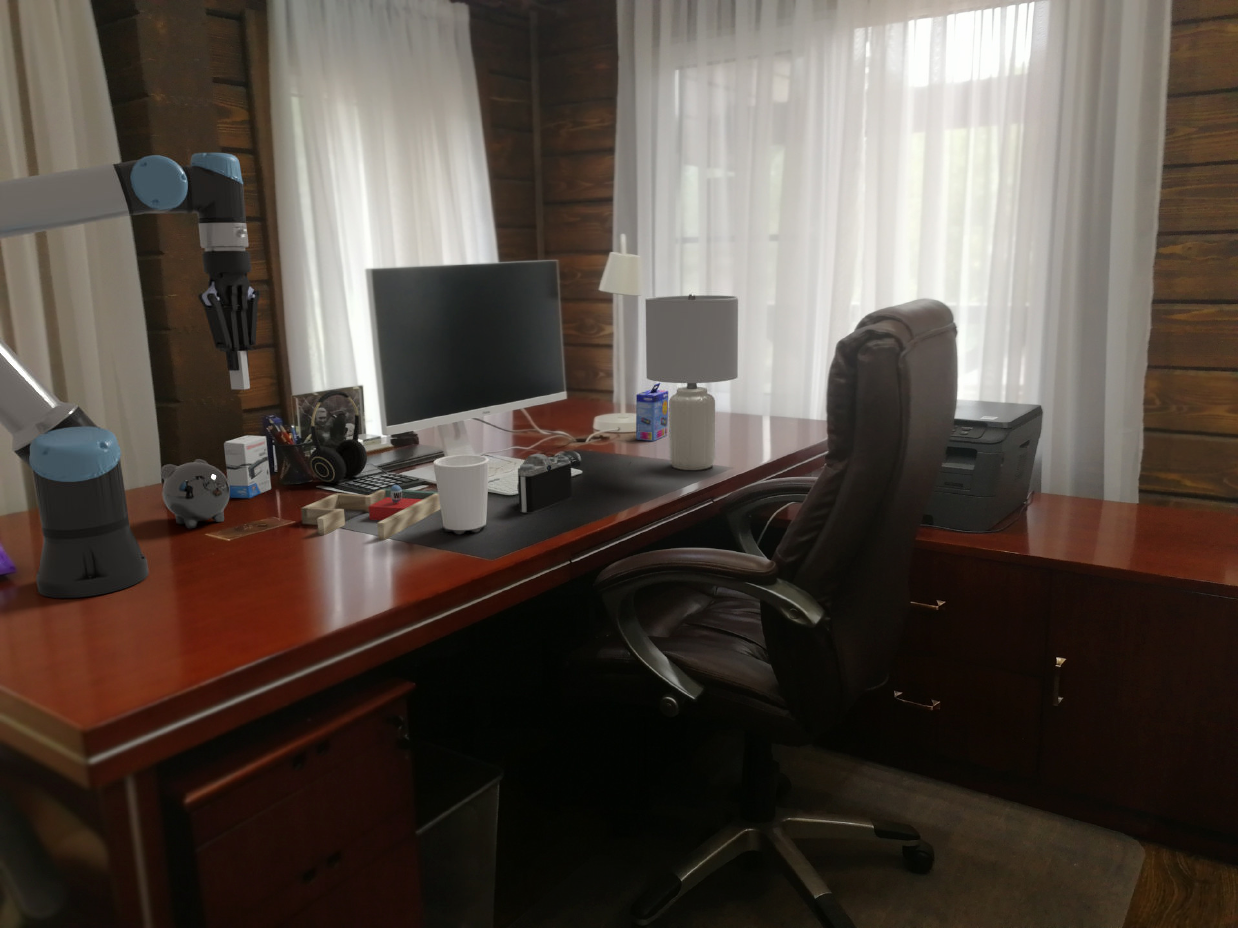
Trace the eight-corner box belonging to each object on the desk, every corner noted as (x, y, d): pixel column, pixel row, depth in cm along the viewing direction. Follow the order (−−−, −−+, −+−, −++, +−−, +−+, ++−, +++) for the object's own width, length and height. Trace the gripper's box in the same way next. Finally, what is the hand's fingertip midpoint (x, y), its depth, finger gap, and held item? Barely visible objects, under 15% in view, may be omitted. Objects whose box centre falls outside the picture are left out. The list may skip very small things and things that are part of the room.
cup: (432, 525, 174) (428, 457, 171) (485, 518, 177) (482, 452, 174) (442, 539, 165) (438, 468, 162) (498, 533, 168) (494, 463, 165)
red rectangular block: (424, 513, 183) (422, 481, 182) (408, 523, 177) (405, 490, 175) (387, 511, 185) (385, 479, 184) (369, 520, 179) (367, 488, 177)
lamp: (753, 470, 211) (755, 294, 202) (670, 480, 204) (668, 297, 195) (711, 453, 229) (711, 291, 221) (634, 462, 222) (631, 294, 213)
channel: (384, 539, 165) (383, 523, 165) (284, 531, 172) (282, 515, 171) (444, 507, 186) (443, 492, 185) (353, 500, 192) (352, 486, 191)
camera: (549, 493, 196) (547, 445, 193) (576, 497, 192) (574, 448, 190) (503, 509, 183) (500, 459, 181) (530, 514, 180) (528, 463, 178)
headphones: (302, 486, 206) (293, 394, 201) (348, 471, 219) (340, 385, 214) (332, 489, 202) (324, 396, 198) (377, 474, 215) (370, 387, 211)
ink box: (249, 499, 195) (243, 443, 193) (228, 498, 196) (221, 442, 194) (272, 489, 203) (267, 435, 201) (251, 488, 204) (245, 434, 202)
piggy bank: (210, 509, 188) (203, 452, 185) (246, 522, 178) (240, 463, 175) (152, 521, 180) (144, 463, 177) (187, 536, 170) (179, 474, 167)
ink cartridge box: (654, 441, 245) (654, 386, 242) (635, 440, 247) (634, 385, 244) (669, 435, 254) (668, 381, 251) (650, 433, 256) (649, 380, 253)
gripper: (217, 249, 152) (233, 394, 157) (269, 249, 164) (282, 384, 170) (179, 250, 154) (196, 393, 160) (233, 250, 167) (247, 383, 172)
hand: (240, 388), depth 165 cm, fingers closed
